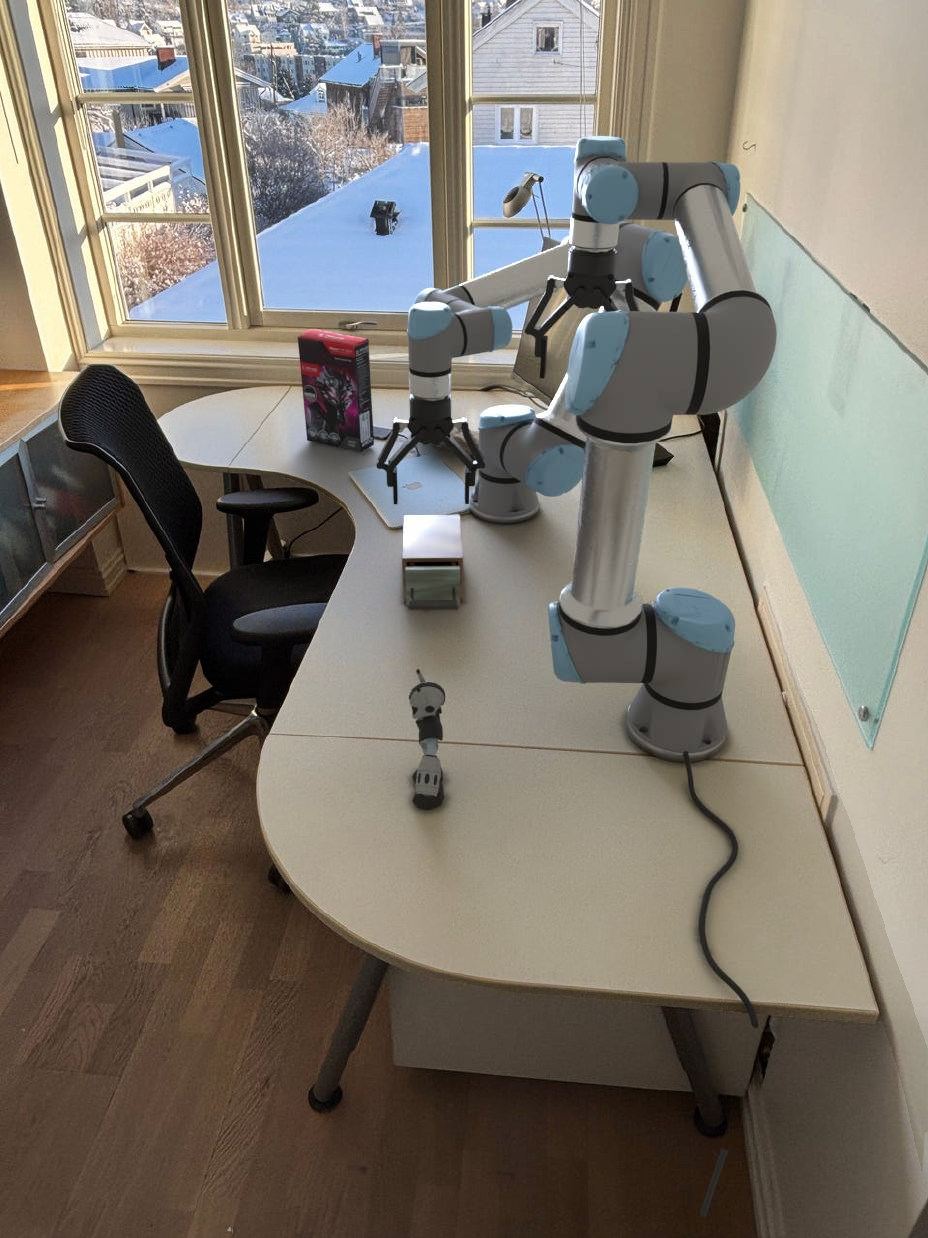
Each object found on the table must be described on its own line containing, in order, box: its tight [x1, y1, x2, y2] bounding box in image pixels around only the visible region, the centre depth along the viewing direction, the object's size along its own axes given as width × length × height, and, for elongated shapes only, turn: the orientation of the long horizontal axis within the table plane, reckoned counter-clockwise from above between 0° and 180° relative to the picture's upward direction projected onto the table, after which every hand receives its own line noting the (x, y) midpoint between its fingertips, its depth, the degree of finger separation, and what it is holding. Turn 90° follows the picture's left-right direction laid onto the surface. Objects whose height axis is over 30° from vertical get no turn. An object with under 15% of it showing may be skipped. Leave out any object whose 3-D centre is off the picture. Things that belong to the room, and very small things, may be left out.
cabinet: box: [401, 514, 464, 604], centre depth 177 cm, size 17×11×10 cm, turn 2°
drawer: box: [405, 562, 461, 611], centre depth 172 cm, size 22×10×8 cm, turn 2°
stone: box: [434, 427, 479, 456], centre depth 231 cm, size 21×15×6 cm
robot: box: [408, 668, 446, 810], centre depth 126 cm, size 20×5×20 cm, turn 3°
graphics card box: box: [297, 328, 375, 454], centre depth 227 cm, size 17×7×27 cm, turn 62°
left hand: (431, 501), depth 176 cm, fingers open, 13 cm apart
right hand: (582, 378), depth 157 cm, fingers open, 13 cm apart
